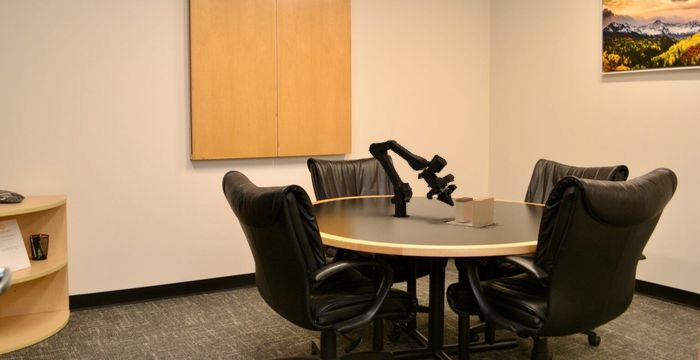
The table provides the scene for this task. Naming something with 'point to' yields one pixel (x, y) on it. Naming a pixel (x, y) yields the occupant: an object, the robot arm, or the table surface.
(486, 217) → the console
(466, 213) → the brown topped beige block
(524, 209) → the table surface
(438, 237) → the table surface
